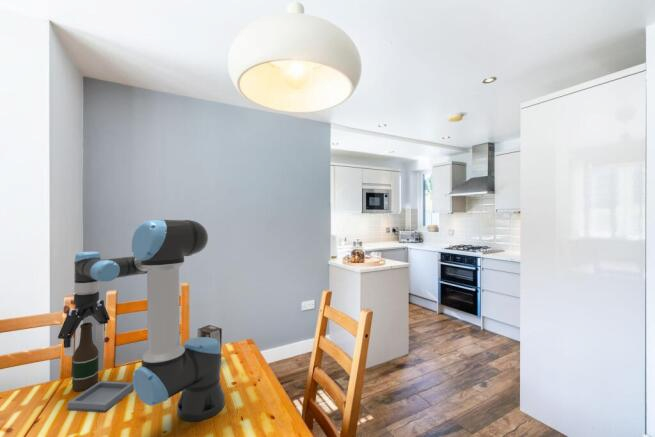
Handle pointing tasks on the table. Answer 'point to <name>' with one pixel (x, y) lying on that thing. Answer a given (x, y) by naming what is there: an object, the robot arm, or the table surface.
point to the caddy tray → (100, 396)
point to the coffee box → (211, 334)
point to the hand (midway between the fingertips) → (85, 347)
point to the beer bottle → (85, 361)
